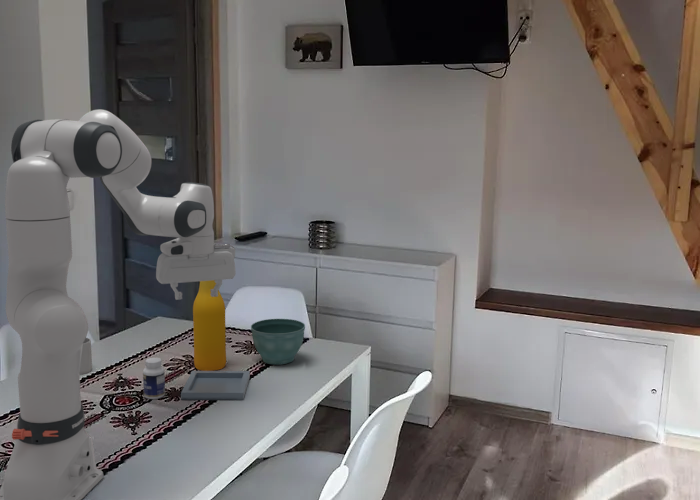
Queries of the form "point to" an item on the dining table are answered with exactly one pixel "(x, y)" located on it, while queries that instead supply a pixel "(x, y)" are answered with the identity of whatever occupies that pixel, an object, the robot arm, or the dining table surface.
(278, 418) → the dining table surface
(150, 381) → the pill bottle
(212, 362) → the beer bottle
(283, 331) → the flower pot
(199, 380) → the dish
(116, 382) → the dining table surface
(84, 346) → the cup
